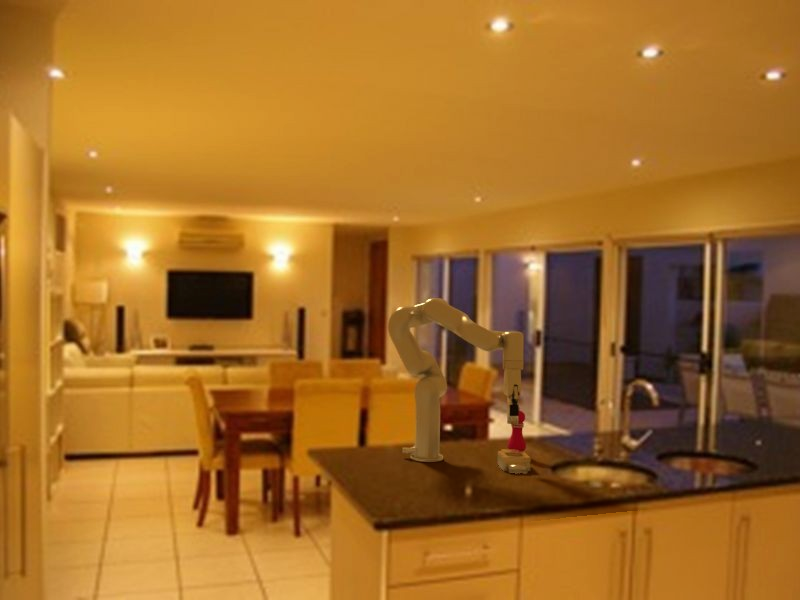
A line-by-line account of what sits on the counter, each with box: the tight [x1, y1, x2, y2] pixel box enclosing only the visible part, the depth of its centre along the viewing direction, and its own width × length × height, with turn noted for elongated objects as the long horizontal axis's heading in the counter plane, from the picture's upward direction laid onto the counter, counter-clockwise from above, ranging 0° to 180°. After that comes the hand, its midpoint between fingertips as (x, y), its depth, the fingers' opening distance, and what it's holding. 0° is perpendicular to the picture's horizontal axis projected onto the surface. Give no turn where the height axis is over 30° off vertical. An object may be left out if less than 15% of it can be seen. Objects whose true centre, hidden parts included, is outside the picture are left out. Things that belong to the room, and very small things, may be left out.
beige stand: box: [497, 448, 531, 475], centre depth 253 cm, size 10×17×5 cm, turn 3°
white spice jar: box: [506, 392, 519, 425], centre depth 253 cm, size 5×5×12 cm
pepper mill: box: [507, 406, 527, 452], centre depth 271 cm, size 7×7×20 cm
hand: (512, 414), depth 253 cm, fingers closed on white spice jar, 4 cm apart
